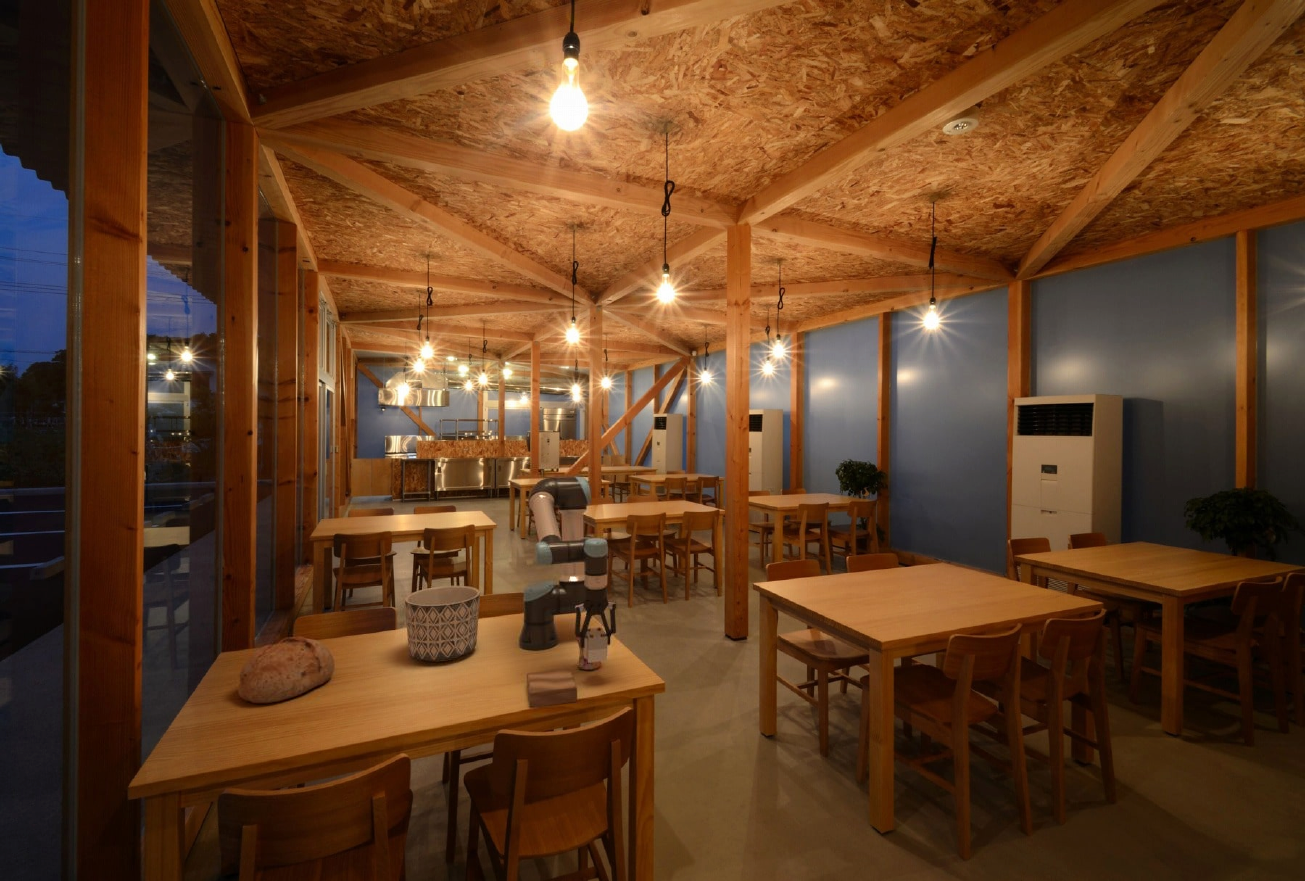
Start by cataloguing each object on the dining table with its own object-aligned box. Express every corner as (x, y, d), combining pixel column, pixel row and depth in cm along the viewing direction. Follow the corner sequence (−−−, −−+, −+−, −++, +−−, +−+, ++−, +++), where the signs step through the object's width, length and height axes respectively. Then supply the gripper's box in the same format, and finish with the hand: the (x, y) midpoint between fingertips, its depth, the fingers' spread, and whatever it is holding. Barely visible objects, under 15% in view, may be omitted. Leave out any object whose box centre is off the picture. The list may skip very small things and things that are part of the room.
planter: (479, 638, 222) (479, 583, 222) (480, 663, 197) (480, 601, 197) (408, 645, 214) (408, 588, 214) (401, 672, 189) (401, 608, 189)
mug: (605, 670, 192) (605, 639, 192) (578, 673, 189) (578, 642, 189) (597, 657, 203) (597, 628, 203) (572, 660, 200) (572, 630, 200)
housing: (584, 652, 186) (584, 628, 186) (601, 651, 188) (602, 626, 187) (588, 662, 178) (588, 636, 178) (606, 660, 180) (606, 635, 180)
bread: (271, 712, 162) (271, 661, 162) (218, 699, 170) (218, 650, 170) (349, 676, 186) (349, 632, 186) (300, 666, 194) (300, 623, 194)
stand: (526, 686, 179) (526, 672, 179) (570, 680, 183) (570, 667, 183) (530, 707, 165) (530, 693, 165) (577, 701, 169) (577, 687, 169)
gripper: (568, 591, 176) (568, 663, 177) (626, 587, 181) (626, 657, 182) (565, 585, 183) (564, 654, 184) (621, 581, 189) (620, 648, 189)
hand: (595, 655), depth 183 cm, fingers closed on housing, 6 cm apart
